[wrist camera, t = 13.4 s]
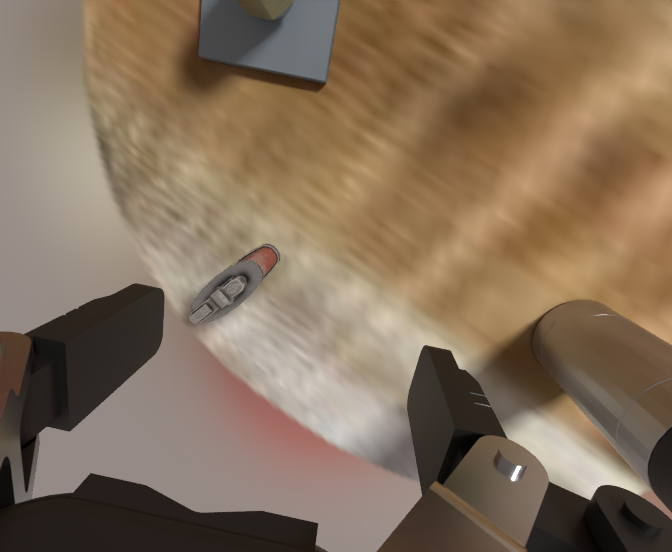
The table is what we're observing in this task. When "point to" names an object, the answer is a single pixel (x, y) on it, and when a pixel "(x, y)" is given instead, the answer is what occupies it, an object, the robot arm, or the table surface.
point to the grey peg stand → (271, 38)
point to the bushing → (264, 7)
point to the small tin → (234, 284)
